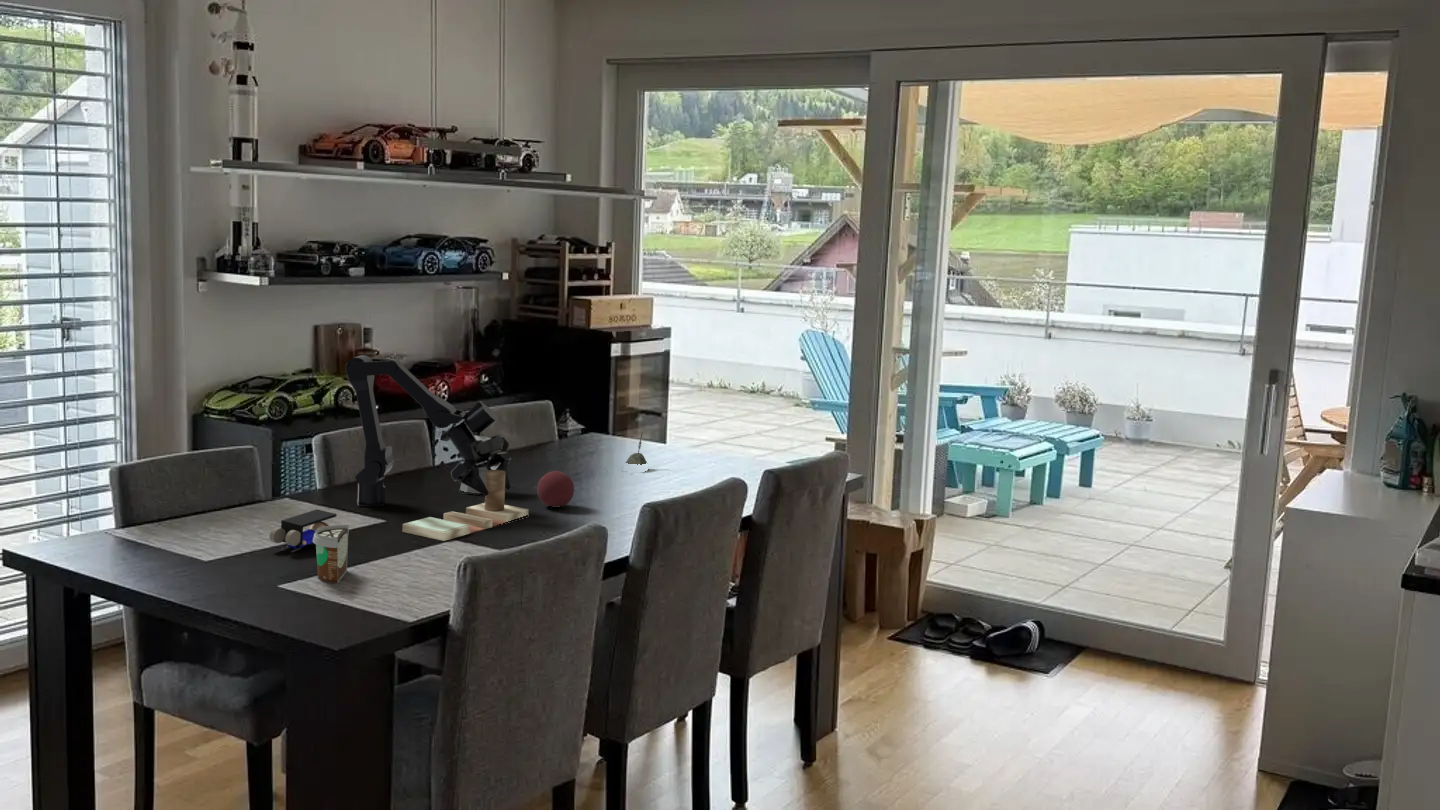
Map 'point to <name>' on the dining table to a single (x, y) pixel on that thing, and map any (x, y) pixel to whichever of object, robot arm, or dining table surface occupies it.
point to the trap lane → (462, 522)
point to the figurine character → (300, 529)
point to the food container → (331, 552)
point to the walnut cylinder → (495, 490)
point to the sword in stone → (637, 457)
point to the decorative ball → (555, 489)
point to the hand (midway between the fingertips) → (498, 491)
